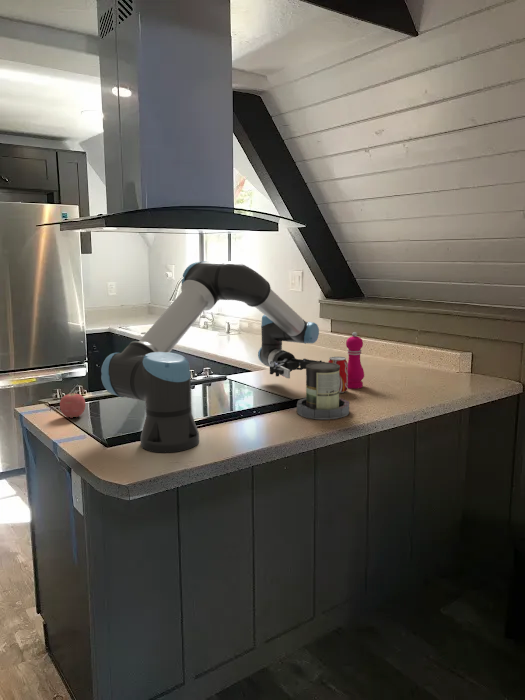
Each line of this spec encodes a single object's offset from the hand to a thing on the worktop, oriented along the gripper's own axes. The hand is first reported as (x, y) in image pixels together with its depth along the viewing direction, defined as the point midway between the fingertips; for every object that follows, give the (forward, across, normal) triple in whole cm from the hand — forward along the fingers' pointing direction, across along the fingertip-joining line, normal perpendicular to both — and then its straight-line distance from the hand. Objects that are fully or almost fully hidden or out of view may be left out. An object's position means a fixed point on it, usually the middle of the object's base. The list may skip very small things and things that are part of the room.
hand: (308, 372), depth 184 cm
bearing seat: (+10, 0, -11) cm, 15 cm away
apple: (-17, +71, -11) cm, 74 cm away
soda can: (-11, -17, -11) cm, 23 cm away
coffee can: (+10, 0, -10) cm, 14 cm away
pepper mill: (-15, -26, -11) cm, 32 cm away
